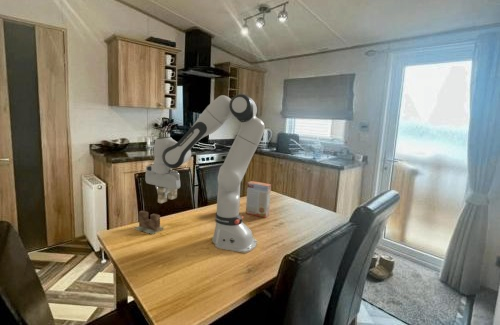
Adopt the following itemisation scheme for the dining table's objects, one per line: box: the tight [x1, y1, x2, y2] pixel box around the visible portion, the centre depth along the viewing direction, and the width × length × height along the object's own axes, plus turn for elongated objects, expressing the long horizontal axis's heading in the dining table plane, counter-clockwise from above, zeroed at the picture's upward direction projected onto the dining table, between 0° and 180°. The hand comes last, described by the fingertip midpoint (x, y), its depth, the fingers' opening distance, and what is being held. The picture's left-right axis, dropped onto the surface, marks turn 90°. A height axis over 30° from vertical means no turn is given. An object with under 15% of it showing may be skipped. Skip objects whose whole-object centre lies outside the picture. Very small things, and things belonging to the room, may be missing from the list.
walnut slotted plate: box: [134, 210, 164, 235], centre depth 142 cm, size 12×8×9 cm, turn 66°
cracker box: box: [245, 180, 272, 219], centre depth 171 cm, size 14×6×21 cm, turn 64°
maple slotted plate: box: [157, 187, 178, 204], centre depth 142 cm, size 12×2×8 cm, turn 156°
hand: (162, 194), depth 139 cm, fingers closed on maple slotted plate, 2 cm apart
